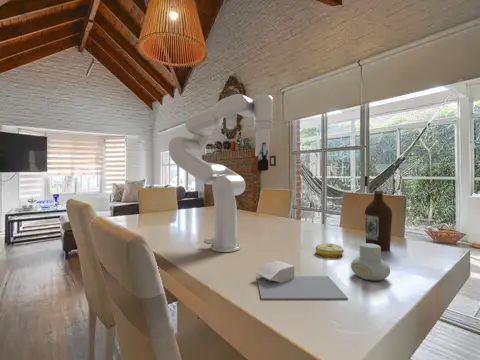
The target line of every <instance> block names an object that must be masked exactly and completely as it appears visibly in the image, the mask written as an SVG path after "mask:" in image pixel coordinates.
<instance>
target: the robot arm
mask: <svg viewBox="0 0 480 360" xmlns="http://www.w3.org/2000/svg"><path fill="white" fill-rule="evenodd" d="M273 103H274V102H273V97H272V95H269V94H259V95H256V96H254V98H249V96H246V95H244V94H241V93H236V94H232V95H230V96H229V95H228V96H227V97H223V98H222V99H220V100H218V102H216V103H215V104H214V106H213V107H212V108H209V109H207V110H204V111H200V112H198V113H195V114H192V115H191V116H189V117H188V118H186V120H185V123H184V124H185V128H186V130H187V131H188V132H189V133H190V134H192V135H193V136H192V137H187V136H182V135H181V136H174V137H173V138H171V140H169V143H168V152H169V156H170V158H171V160H172V161H173V163H174V164H175V165H177V166H178V167H179V168H181V169H182V170H183V171H185V172H186V173H188V174H189V175H191V176H192V177H194V178H195V179H197V180H198V181H200V182H201V183H203V184H205V185H212V187H211V188H212V195H213V203H214V208H213V209H214V213H213V214H214V220H213V221H214V224H213V225H214V230H213V231H214V233H213V234H214V236H213V237H211V238H204V239H203V244H206V245H210V250H211V251H214V252H218V253H231V252H236V251H239V250H240V249H241V245H240V244H239V243H237V237H238V234H237V233H238V232H237V231H238V230H237V228H238V227H237V226H238V221H237V220H238V219H237V215H238V210H237V208H238V206H237V202H236V197H235V196H240V195H241V194H243V193H244V192H245V190H246V186H247V185H246V181H245V179H244V178H243V177H242V176H241V175H239V174H238V173H237V172H235V171H234V170H231V169H230V168H228V167H226V166H225V165H223V164H221V163H212V162H208V161H206V160H203V159H202V158H200V157H199V155H200V154H201V153H202V152H203V150H204V148H205V147H206V145H207V143H208V141H209V140H210V138H211V136H212V135H213V133H214V129H217V128H220V127H222V126H223V123H224V119H225V118H227V117H230V116H232V115H240V116H242V117H245V118H247V119H248V118H249V119H250V118H253V132H255V144H254V145H255V146H254V147H255V150H254V155H255V157H257V156H258V159H257V171H259V172H265V171H268V170H269V154H270V148H271V147H270V143H271V142H270V139H271V138H270V137H271V136H270V134H271V132H273V122H274V121H273V114H274V113H273V110H274V108H273V106H274V105H273Z"/></svg>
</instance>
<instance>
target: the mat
mask: <svg viewBox="0 0 480 360" xmlns="http://www.w3.org/2000/svg"><path fill="white" fill-rule="evenodd" d="M256 280H257V285H258V290H259V295H260V300H263V301H264V300H265V301H268V300H269V301H270V300H271V301H272V300H275V301H276V300H286V301H287V300H296V301H297V300H298V301H299V300H301V301H302V300H308V301H309V300H315V301H316V300H318V301H319V300H327V301H329V300H332V301H333V300H337V301H340V300H348V299H349V297H348V296H347V295H346V294H345V293H344V292H343V291H342V290H341V289H340V288H339V286H337V284H336V283H335V282H334V281H333V280H332V279H331V278H330V276H329V275H294V278H293V279H290V280H287V281H284V282H281V283H280V282H277V281H273V280H268V279H266V278H264V277H261V276H259V275H257V276H256Z"/></svg>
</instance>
